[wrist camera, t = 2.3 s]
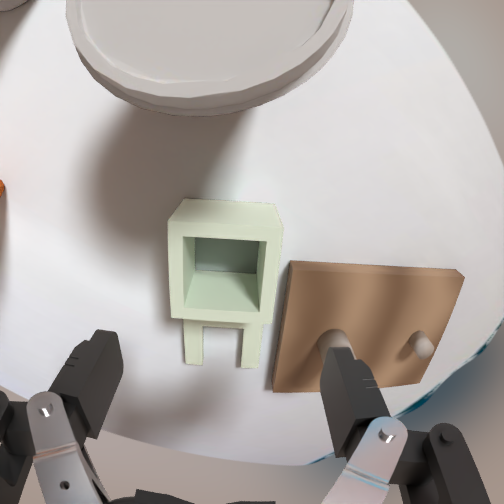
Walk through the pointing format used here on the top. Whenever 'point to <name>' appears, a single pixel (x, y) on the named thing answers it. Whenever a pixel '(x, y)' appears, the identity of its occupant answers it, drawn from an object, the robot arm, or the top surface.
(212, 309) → the hollow square block
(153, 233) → the top surface
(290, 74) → the disposable coffee cup
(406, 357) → the post base
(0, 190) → the carrot
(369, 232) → the top surface
